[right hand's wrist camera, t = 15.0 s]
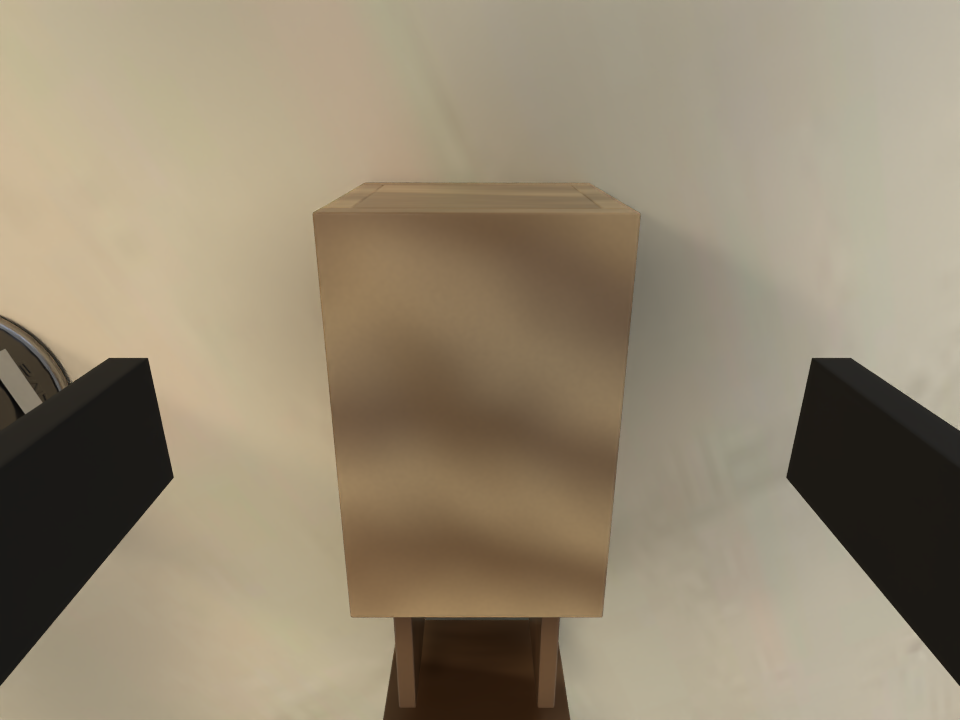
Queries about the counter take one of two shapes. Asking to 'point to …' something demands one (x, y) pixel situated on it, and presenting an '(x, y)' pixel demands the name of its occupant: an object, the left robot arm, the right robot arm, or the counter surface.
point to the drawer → (476, 670)
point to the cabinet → (476, 392)
